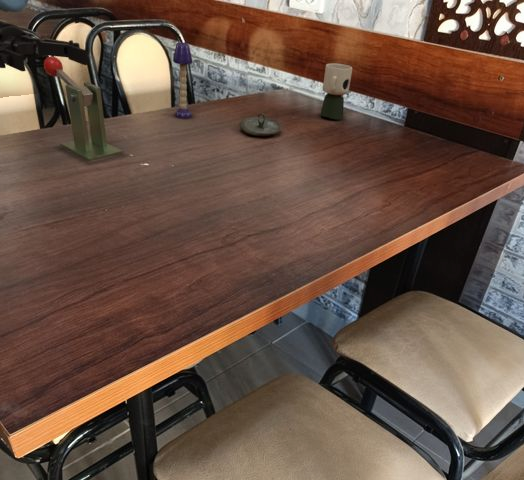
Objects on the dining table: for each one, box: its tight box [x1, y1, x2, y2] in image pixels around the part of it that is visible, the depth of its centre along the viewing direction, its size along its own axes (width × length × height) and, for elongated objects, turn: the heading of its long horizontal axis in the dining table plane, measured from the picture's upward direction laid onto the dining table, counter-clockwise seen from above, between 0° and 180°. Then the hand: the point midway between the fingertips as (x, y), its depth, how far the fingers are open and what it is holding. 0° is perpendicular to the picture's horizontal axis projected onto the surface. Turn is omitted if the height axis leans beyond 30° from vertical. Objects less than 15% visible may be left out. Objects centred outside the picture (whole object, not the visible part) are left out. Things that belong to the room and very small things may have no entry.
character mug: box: [319, 62, 353, 120], centre depth 137 cm, size 11×7×13 cm, turn 161°
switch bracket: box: [59, 81, 124, 162], centre depth 103 cm, size 11×8×13 cm
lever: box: [43, 56, 93, 107], centre depth 101 cm, size 14×4×4 cm, turn 46°
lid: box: [238, 112, 283, 137], centre depth 125 cm, size 11×10×5 cm
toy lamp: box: [172, 42, 193, 120], centre depth 126 cm, size 5×5×17 cm
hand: (55, 60), depth 101 cm, fingers open, 13 cm apart
